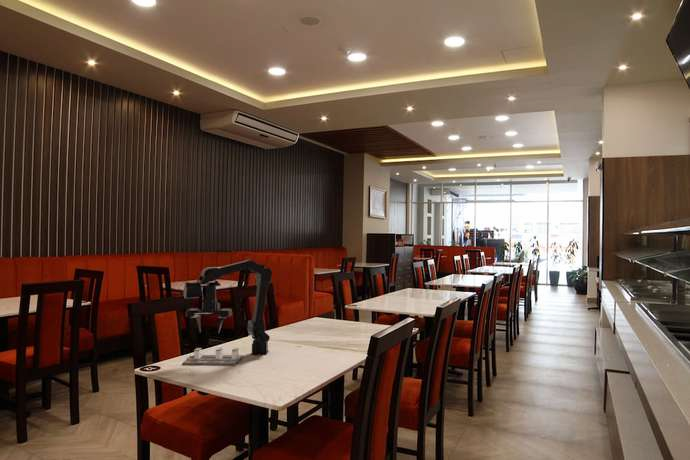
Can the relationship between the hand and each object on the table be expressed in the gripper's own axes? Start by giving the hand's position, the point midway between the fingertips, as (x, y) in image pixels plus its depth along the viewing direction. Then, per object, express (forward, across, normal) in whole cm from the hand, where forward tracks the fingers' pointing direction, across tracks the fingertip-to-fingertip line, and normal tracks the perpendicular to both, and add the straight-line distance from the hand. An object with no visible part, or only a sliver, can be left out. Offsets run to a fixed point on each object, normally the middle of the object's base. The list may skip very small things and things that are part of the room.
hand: (209, 332), depth 199 cm
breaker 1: (+12, +5, 0) cm, 13 cm away
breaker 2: (+12, -4, 0) cm, 13 cm away
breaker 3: (+12, -11, 0) cm, 17 cm away
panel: (+12, -2, 0) cm, 12 cm away
